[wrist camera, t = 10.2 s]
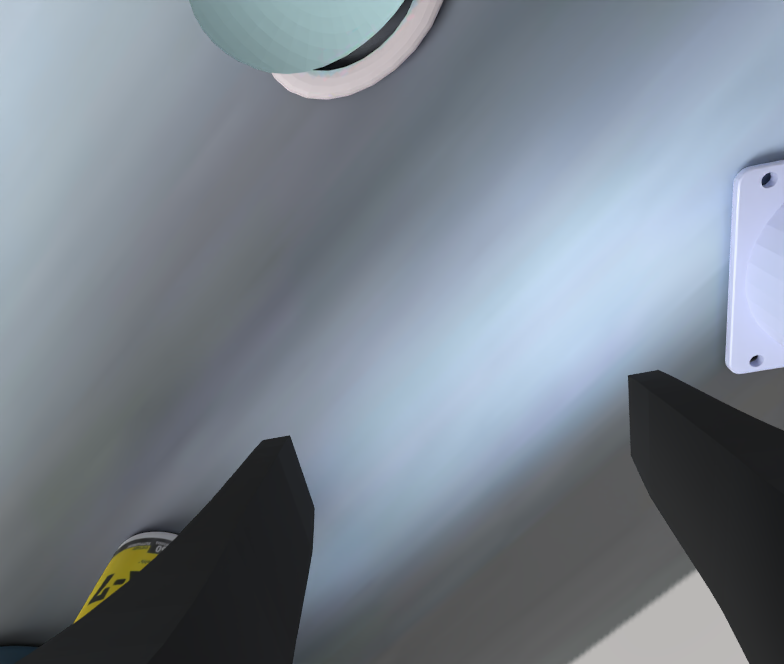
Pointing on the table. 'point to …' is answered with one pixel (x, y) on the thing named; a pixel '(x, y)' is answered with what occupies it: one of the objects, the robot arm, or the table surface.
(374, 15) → the pacifier
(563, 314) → the table surface
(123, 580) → the supplement bottle
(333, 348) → the table surface
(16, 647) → the canister
